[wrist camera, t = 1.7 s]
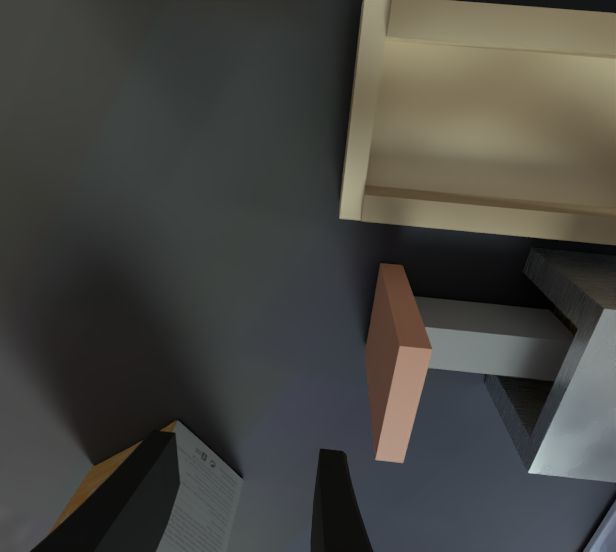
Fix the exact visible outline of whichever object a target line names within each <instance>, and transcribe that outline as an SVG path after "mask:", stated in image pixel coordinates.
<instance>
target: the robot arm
mask: <svg viewBox="0 0 616 552" xmlns="http://www.w3.org/2000/svg"><path fill="white" fill-rule="evenodd" d="M179 486H180V474H179V464H178V454H177V443H176V433H175V432H166V431H157V430H153V431H151V432H150V433H149V434H148V435H147V436H146V437H145V438H144V440H143V441H142V442H141V443H140V444H139V445H138V446H137V447H136V448H135V449H134V451H133V452H132V453H131V454H130V455H129V456H128V457H127V458H126V459H125V460H124V461H123V462H122V463H121V464H120V465H119V467H118V468H117V469H116V470H115V471H114V472H113V473H112V474H111V475H110V476H109V477H108V478H107V479H106V480H105V481H104V482H103V483H102V484H101V485H100V486H99V487H98V488H97V489H96V490H95V491H94V492H93V493H92V494H91V495H90V496H89V497H88V498H87V499H86V500H85V501H84V502H83V503H82V504H81V505H80V506H79V507H78V508H77V509H76V510H75V511H74V512H73V513H72V514H71V515H69V516H68V517H67V518H66V519H65V520H64V521H63V522H62V523H61V524H60V525H59V526H58V527H57V528H56V529H54V530H53V531H52V532H51V533H50V534H49V535H48V536H47V537H46V538H45V539H44V540H42V541H41V542H40V543H39V544H38V545H37V546H36V547H35V548H33V549H32V550H31V551H30V552H156V551H157V548H158V546H159V544H160V541H161V539H162V537H163V534H164V532H165V529H166V527H167V525H168V521H169V518H170V515H171V512H172V509H173V506H174V503H175V500H176V496H177V493H178V490H179ZM311 552H373V549H372V547H371V544H370V541H369V538H368V535H367V532H366V529H365V526H364V523H363V520H362V517H361V514H360V511H359V508H358V504H357V501H356V497H355V493H354V490H353V486H352V482H351V478H350V473H349V468H348V463H347V456H346V454H345V453H344V452H343V451H337V450H328V449H320V452H319V460H318V468H317V476H316V484H315V492H314V501H313V515H312V530H311ZM583 552H616V500H615V502H614V503H613V505H612V507H611V508H610V510H609V511H608V513H607V514H606V516H605V518H604V519H603V521H602V522H601V524H600V526H599V527H598V529H597V530H596V532H595V533H594V535H593V537H592V538H591V540H590V541H589V543H588V544H587V546H586V548H585V549H584V551H583Z"/></svg>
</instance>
